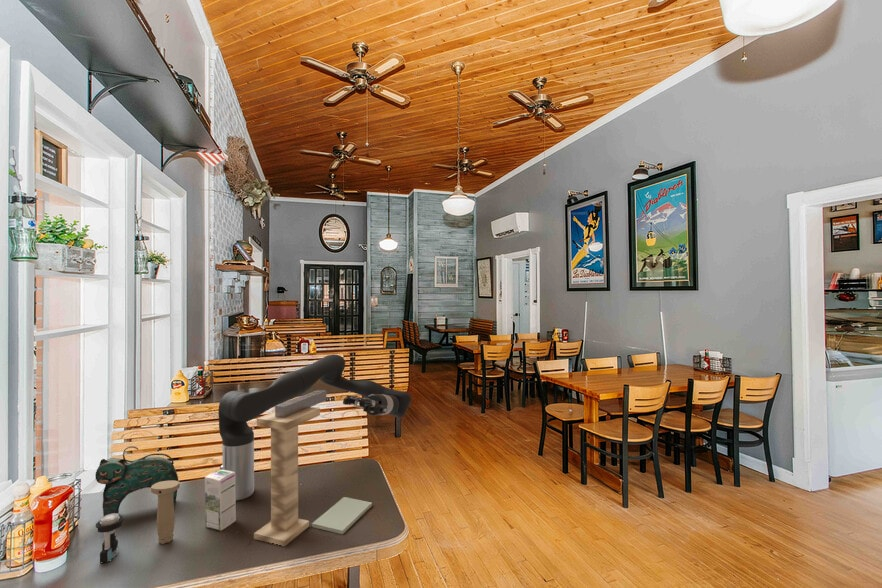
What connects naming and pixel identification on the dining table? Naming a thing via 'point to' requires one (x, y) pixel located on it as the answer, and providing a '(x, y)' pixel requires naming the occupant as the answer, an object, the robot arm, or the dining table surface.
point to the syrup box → (220, 499)
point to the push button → (109, 535)
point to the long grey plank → (300, 403)
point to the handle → (165, 509)
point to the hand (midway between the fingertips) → (354, 404)
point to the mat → (342, 515)
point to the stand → (284, 477)
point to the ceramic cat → (132, 477)
